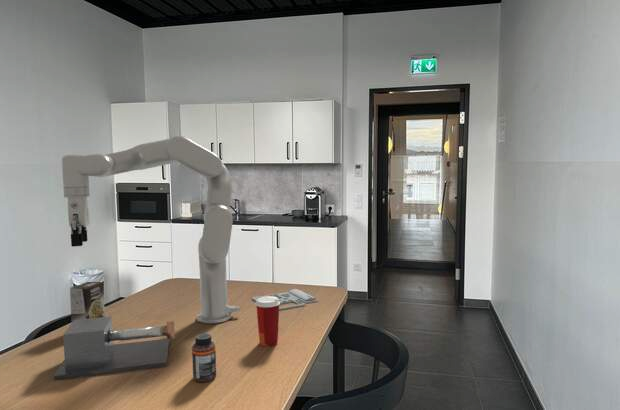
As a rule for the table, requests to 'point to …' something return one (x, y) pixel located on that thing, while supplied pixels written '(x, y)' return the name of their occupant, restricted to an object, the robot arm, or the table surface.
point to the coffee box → (87, 301)
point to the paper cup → (268, 320)
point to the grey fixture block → (106, 351)
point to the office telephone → (292, 298)
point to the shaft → (142, 333)
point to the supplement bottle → (204, 358)
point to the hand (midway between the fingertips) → (79, 243)
